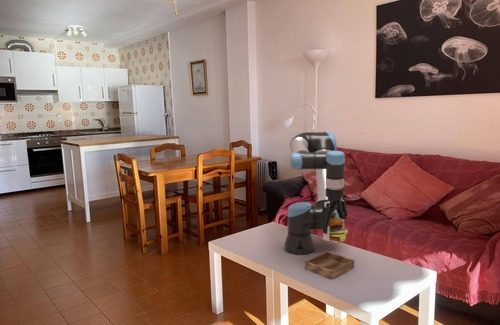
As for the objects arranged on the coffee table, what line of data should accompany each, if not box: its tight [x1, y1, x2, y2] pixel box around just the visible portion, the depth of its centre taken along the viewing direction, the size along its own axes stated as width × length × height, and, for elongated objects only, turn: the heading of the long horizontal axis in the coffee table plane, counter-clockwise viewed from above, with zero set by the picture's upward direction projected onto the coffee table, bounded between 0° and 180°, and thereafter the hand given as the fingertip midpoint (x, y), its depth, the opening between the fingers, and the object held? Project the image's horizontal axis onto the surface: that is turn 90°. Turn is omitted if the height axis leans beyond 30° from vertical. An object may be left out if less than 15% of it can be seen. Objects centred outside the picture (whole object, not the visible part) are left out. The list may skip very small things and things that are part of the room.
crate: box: [304, 251, 355, 280], centre depth 169 cm, size 15×17×3 cm
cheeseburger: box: [328, 218, 349, 243], centre depth 165 cm, size 10×11×10 cm
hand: (333, 236), depth 166 cm, fingers closed on cheeseburger, 11 cm apart
